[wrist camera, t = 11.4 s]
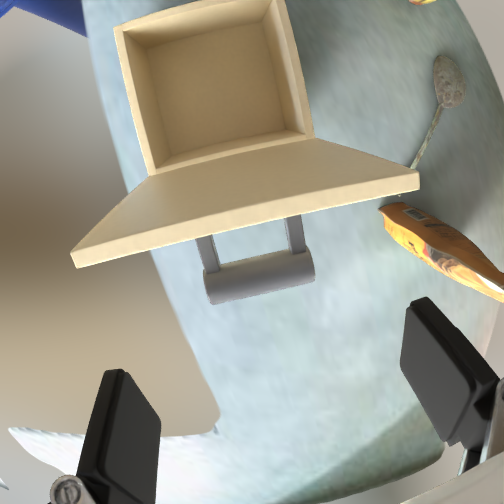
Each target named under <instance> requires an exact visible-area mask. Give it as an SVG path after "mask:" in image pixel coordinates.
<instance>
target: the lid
mask: <svg viewBox="0 0 504 504" xmlns="http://www.w3.org/2000/svg"><path fill="white" fill-rule="evenodd" d="M419 189H420V179H419V172H418V171H416V170H413V169H410V168H408V167H405V166H402V165H400V164H397V163H394V162H391V161H388V160H386V159H383V158H380V157H377V156H374V155H371V154H368V153H365V152H362V151H359V150H355V149H352V148H349V147H346V146H342V145H339V144H336V143H332V142H329V141H325V140H322V139H318V138H313V139H307V140H301V141H296V142H290V143H285V144H280V145H275V146H270V147H265V148H260V149H255V150H251V151H246V152H242V153H237V154H233V155H229V156H224V157H220V158H216V159H212V160H208V161H204V162H200V163H196V164H192V165H188V166H185V167H181V168H177V169H174V170H170V171H166V172H163V173H159V174H156V175H153V176H149V177H147V178H146V179H145V180H144V181H143V182H142V183H140V184H139V185H138V186H137V187H136V188H135V189H134V190H133V191H132V192H131V193H129V194H128V195H127V196H126V197H125V198H124V199H123V200H122V201H121V202H120V203H119V204H118V205H117V206H116V207H114V208H113V209H112V210H111V211H110V212H109V213H108V214H107V215H106V216H105V217H104V218H103V219H102V220H101V221H100V222H99V223H98V224H97V225H96V226H95V227H94V228H93V229H92V230H91V231H90V232H89V233H88V234H87V235H86V236H85V237H84V238H83V239H82V241H80V242H79V243H78V244H77V246H75V248H74V249H73V250H72V251H71V252H70V254H71V256H72V258H73V261H74V263H75V265H76V267H77V268H81V267H85V266H88V265H92V264H96V263H100V262H104V261H108V260H111V259H115V258H119V257H123V256H126V255H131V254H135V253H138V252H143V251H147V250H151V249H155V248H159V247H163V246H167V245H171V244H175V243H179V242H183V241H187V240H191V239H195V240H196V244H197V247H198V250H199V253H200V257H201V260H202V263H203V266H204V270H203V280H204V286H205V290H206V294H207V297H208V299H209V301H210V303H211V304H212V305H215V304H220V303H225V302H229V301H234V300H238V299H243V298H247V297H252V296H256V295H260V294H265V293H269V292H273V291H278V290H282V289H286V288H290V287H295V286H299V285H303V284H307V283H311V282H314V281H315V269H314V264H313V260H312V256H311V253H310V251H309V249H308V247H307V246H306V244H305V238H304V231H303V225H302V219H301V214H304V213H308V212H313V211H318V210H322V209H327V208H331V207H336V206H341V205H346V204H350V203H355V202H360V201H365V200H370V199H375V198H380V197H384V196H389V195H394V194H399V193H405V192H410V191H415V190H419ZM281 218H284V223H285V228H286V234H287V240H288V245H289V249H286V250H281V251H277V252H273V253H268V254H264V255H260V256H255V257H251V258H247V259H242V260H238V261H234V262H229V263H225V264H221V265H220V261H219V258H218V254H217V251H216V247H215V244H214V240H213V236H212V234H216V233H220V232H225V231H229V230H233V229H237V228H242V227H246V226H250V225H255V224H259V223H263V222H268V221H272V220H277V219H281Z"/></svg>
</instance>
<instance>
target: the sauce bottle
mask: <svg viewBox="0 0 504 504" xmlns="http://www.w3.org/2000/svg"><path fill="white" fill-rule="evenodd" d="M408 1H409V2H411V3H413V4H417V5H422V4H425V3H431V2H433V1H436V0H408Z"/></svg>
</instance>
